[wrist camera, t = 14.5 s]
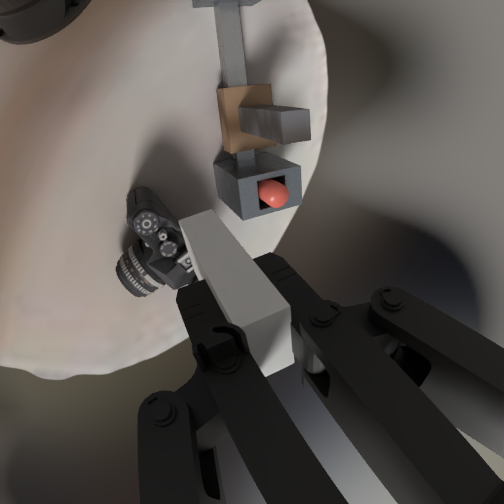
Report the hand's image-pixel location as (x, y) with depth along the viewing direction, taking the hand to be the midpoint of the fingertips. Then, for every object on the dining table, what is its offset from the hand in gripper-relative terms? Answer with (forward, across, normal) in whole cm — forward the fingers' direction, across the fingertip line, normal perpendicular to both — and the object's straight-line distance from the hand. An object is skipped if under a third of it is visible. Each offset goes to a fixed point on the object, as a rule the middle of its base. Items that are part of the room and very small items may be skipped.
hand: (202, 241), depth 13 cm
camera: (+27, -4, -13) cm, 30 cm away
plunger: (+21, +12, -8) cm, 25 cm away
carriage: (+27, +12, 0) cm, 30 cm away
